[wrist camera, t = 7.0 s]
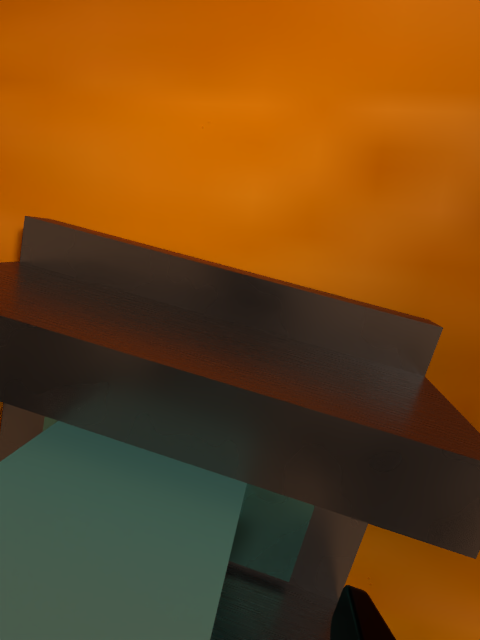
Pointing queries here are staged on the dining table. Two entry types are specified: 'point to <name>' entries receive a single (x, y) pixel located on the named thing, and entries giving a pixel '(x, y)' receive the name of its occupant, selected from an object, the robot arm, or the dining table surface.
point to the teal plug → (110, 541)
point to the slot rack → (243, 407)
